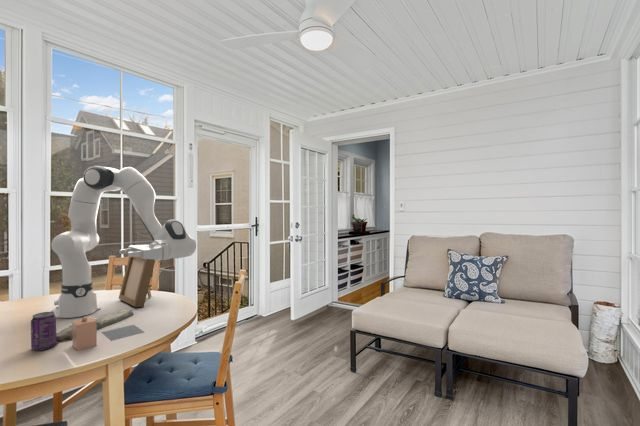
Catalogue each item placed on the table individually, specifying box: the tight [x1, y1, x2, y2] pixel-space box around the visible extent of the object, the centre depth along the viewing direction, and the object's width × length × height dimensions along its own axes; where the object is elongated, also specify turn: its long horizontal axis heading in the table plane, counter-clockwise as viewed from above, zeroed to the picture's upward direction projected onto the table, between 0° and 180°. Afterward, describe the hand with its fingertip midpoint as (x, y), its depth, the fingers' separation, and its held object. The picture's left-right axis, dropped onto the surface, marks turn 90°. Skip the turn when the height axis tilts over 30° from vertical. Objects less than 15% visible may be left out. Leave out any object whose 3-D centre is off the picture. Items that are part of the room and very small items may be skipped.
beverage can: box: [30, 311, 57, 351], centre depth 124 cm, size 7×7×12 cm
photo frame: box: [118, 256, 156, 308], centre depth 182 cm, size 15×22×25 cm
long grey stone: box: [56, 309, 134, 342], centre depth 144 cm, size 35×5×10 cm
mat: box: [101, 324, 145, 342], centre depth 138 cm, size 12×12×1 cm
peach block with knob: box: [71, 316, 98, 351], centre depth 124 cm, size 6×6×11 cm
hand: (124, 253), depth 139 cm, fingers open, 8 cm apart
